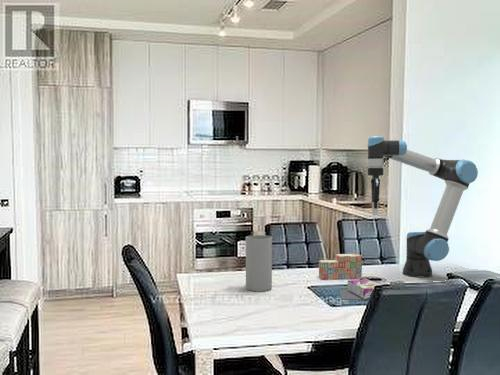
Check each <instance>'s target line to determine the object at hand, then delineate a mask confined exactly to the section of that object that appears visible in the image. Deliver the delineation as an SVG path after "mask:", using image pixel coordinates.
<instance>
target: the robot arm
mask: <svg viewBox="0 0 500 375" xmlns="http://www.w3.org/2000/svg"><path fill="white" fill-rule="evenodd" d="M407 144H408V143H407V142H406V141H405V140H399V139H398V140H385V138H384V136H381V135H380V136H379V135H376V136H369V137H368V140H367V160H366V164H367V167H368V168H367V175H368V176H371V179H370V184H371V185H370V186H371V187H370V188H371V202H372V203H371V205H372V206H371V214H372V216H378V215H379V202H380V188H381V187H380V186H381V179H379V178H380V177H379V176H383V175H384V158H385V159H386V158H387V159H389V160H392V161H396V162H399V163H402V164H403V165H407V166H410V167H413V168H416V169H418V170H421V171H425V172H427V173H428V174H429V175H430V176H433V177H436V178H439V179H441V180H444V183H445V185H446V186H445V189H444V190H443V194H442V196H441V199H440V201H439V204H438V206H437V209H436V213H435V214H434V217H433V219H432V223H431V226H430V228H428V229H426V230H425V231H409V232H407V234H406V239H405V240H406V260H405V262H404V265H403V268H402V274H403V275H405V276H408V277H412V278H413V277H415V278H428V277H431V276H433V268H432V266H431V265H432V264H431V262H432V261H434V262H440V261H442V260H444V259H445V258H446V257H447V256H448V255H449V252H450V247H449V243H448V242H449V239H450V238H449V236H448V233H449V230H450V228H451V225H452V223H453V219H454V216H455V214H456V212H457V209H458V206H459V204H460V201H461V198H462V196H463V194H464V191H466V190H468V188H469V186H470V184H471V183H474V182H475V181H476V180H477V178H478V174H479V170H478V168H477V165H476V164H475V163H474V162H473V161H472V160H468V159H441V158H439V157H434V158H432V157H430V156H426V155H424V154H421V153H418V152H414V151H412V150H409V149H408V145H407ZM430 261H431V262H430Z"/></svg>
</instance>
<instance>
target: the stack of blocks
mask: <svg viewBox="0 0 500 375" xmlns="http://www.w3.org/2000/svg"><path fill="white" fill-rule="evenodd" d="M362 270H363V256H362V254H359V253H339V254H335V259H319V261H318V278H319V279H320V280H322V281H323V280H324V281H326V280H328V281H330V280H360V279H359V278H361V277H362V276H363V275H362V274H363V271H362Z"/></svg>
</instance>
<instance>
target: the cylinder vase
mask: <svg viewBox="0 0 500 375" xmlns="http://www.w3.org/2000/svg"><path fill="white" fill-rule="evenodd" d="M272 240H273V236H271V235H262V234H258V235H257V234H256V235H255V234H254V235H247V236H245V290H247V291H250V292H259V293H260V292H261V293H262V292H267V291H270V290H272V287H273V285H272V284H273V277H272V276H273V256H272V255H273V250H272V249H273V248H272V247H273V241H272Z"/></svg>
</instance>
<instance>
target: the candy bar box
mask: <svg viewBox="0 0 500 375" xmlns="http://www.w3.org/2000/svg"><path fill="white" fill-rule="evenodd" d="M376 285H380V283H377V282H376V281H373V280H370V279H369V280H368V279H367V278H366V279H350V280H347V290H348V291H350V292H352V293H354V294H356V295H357V296H359V297H361V298H363V299H369V297H370V295H371V293H372V290H373V288H374V286H376Z"/></svg>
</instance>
